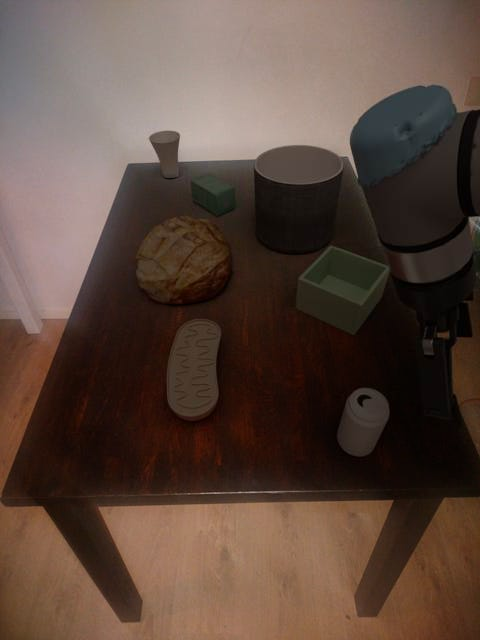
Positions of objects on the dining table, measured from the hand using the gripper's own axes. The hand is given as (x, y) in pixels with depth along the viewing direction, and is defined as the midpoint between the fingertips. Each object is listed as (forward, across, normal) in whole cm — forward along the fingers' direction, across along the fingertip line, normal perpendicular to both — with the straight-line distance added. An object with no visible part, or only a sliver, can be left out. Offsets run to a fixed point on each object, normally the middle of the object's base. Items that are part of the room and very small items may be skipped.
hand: (456, 376), depth 51 cm
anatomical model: (0, +5, -45) cm, 45 cm away
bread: (-3, -22, -63) cm, 67 cm away
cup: (-10, -68, -96) cm, 118 cm away
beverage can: (+13, +7, -16) cm, 22 cm away
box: (-2, -55, -73) cm, 91 cm away
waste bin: (+13, -25, -28) cm, 40 cm away
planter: (+9, -49, -47) cm, 69 cm away
